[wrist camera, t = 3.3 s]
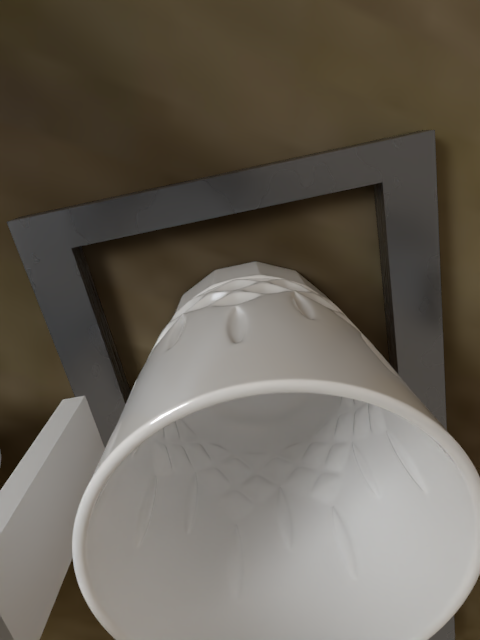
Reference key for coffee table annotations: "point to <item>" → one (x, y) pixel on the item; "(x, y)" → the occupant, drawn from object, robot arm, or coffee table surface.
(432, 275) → the grey double frame
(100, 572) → the white cup
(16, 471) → the robot arm
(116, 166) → the coffee table surface
